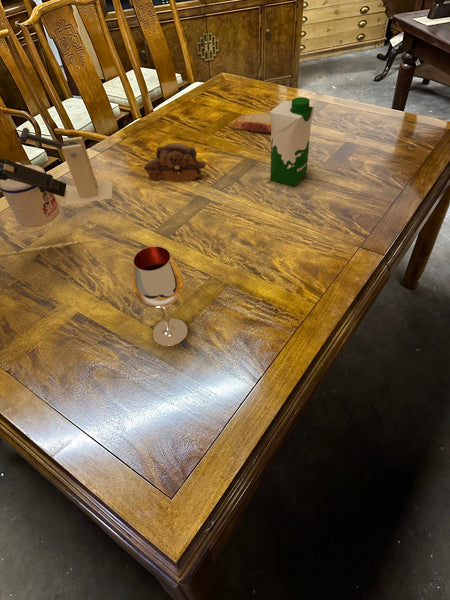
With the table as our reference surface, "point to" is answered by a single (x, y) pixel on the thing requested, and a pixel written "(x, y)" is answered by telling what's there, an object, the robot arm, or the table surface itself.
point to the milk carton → (290, 140)
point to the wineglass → (159, 290)
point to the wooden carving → (175, 163)
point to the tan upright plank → (83, 175)
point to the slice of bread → (254, 122)
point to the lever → (41, 139)
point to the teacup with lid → (30, 202)
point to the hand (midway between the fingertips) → (44, 186)
